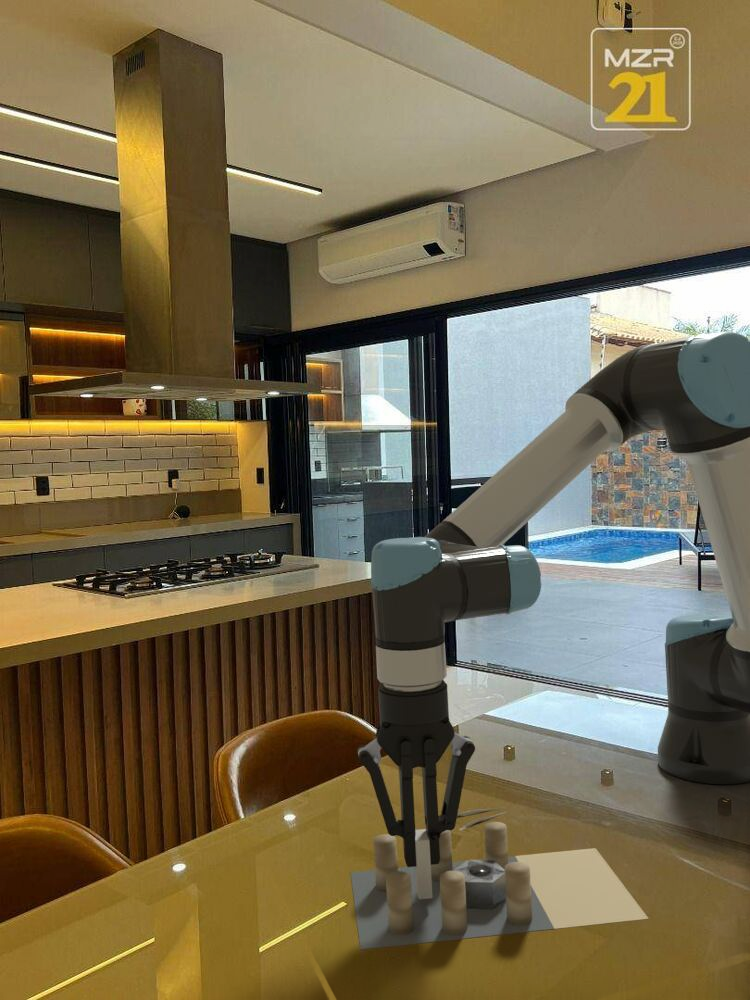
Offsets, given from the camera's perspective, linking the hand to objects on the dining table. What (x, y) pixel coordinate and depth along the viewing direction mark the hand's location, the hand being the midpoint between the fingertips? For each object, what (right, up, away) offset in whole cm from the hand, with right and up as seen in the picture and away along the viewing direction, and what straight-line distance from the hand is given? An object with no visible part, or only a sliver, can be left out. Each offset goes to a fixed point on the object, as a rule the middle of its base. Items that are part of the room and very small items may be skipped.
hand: (423, 892), depth 95 cm
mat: (+7, -1, +1) cm, 8 cm away
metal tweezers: (+12, -1, +23) cm, 26 cm away
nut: (+6, -1, +1) cm, 7 cm away
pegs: (+3, -1, 0) cm, 3 cm away
